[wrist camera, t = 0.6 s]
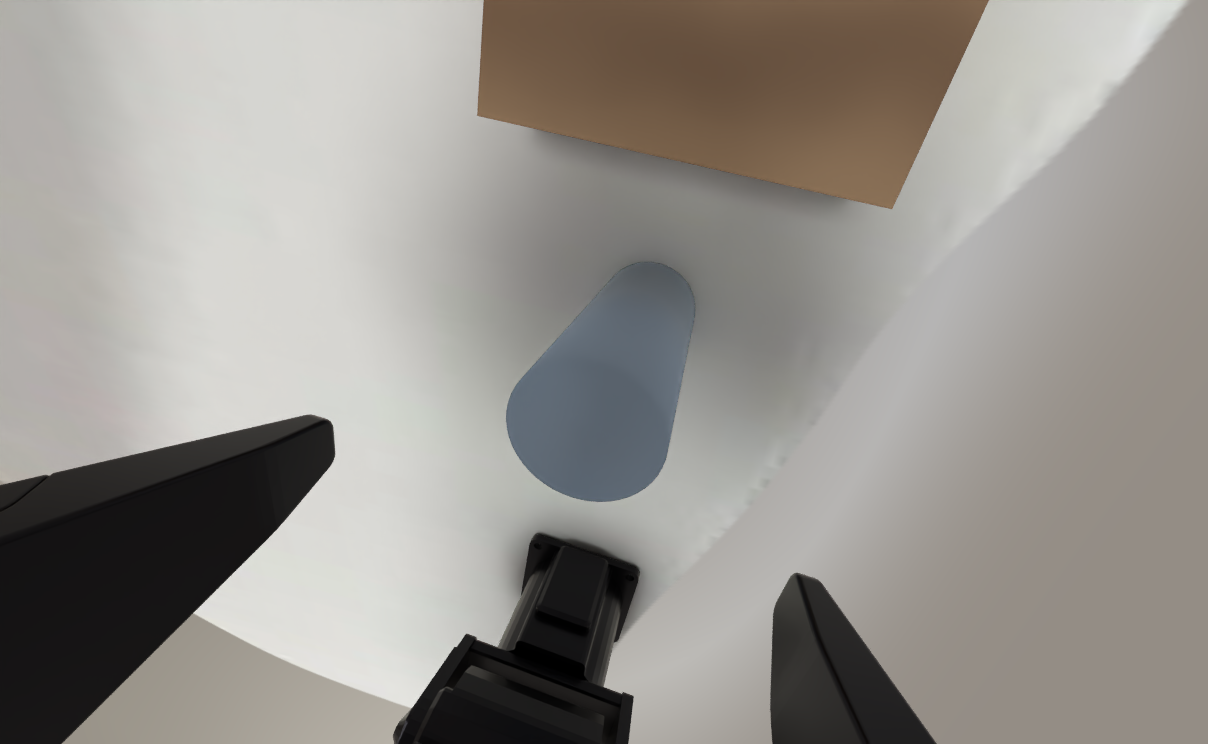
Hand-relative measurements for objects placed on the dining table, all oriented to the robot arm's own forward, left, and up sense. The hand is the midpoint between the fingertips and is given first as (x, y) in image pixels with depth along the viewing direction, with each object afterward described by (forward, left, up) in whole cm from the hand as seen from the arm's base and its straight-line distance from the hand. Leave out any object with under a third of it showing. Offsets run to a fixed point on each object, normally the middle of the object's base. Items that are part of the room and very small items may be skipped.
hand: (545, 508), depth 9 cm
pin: (0, 0, -13) cm, 13 cm away
